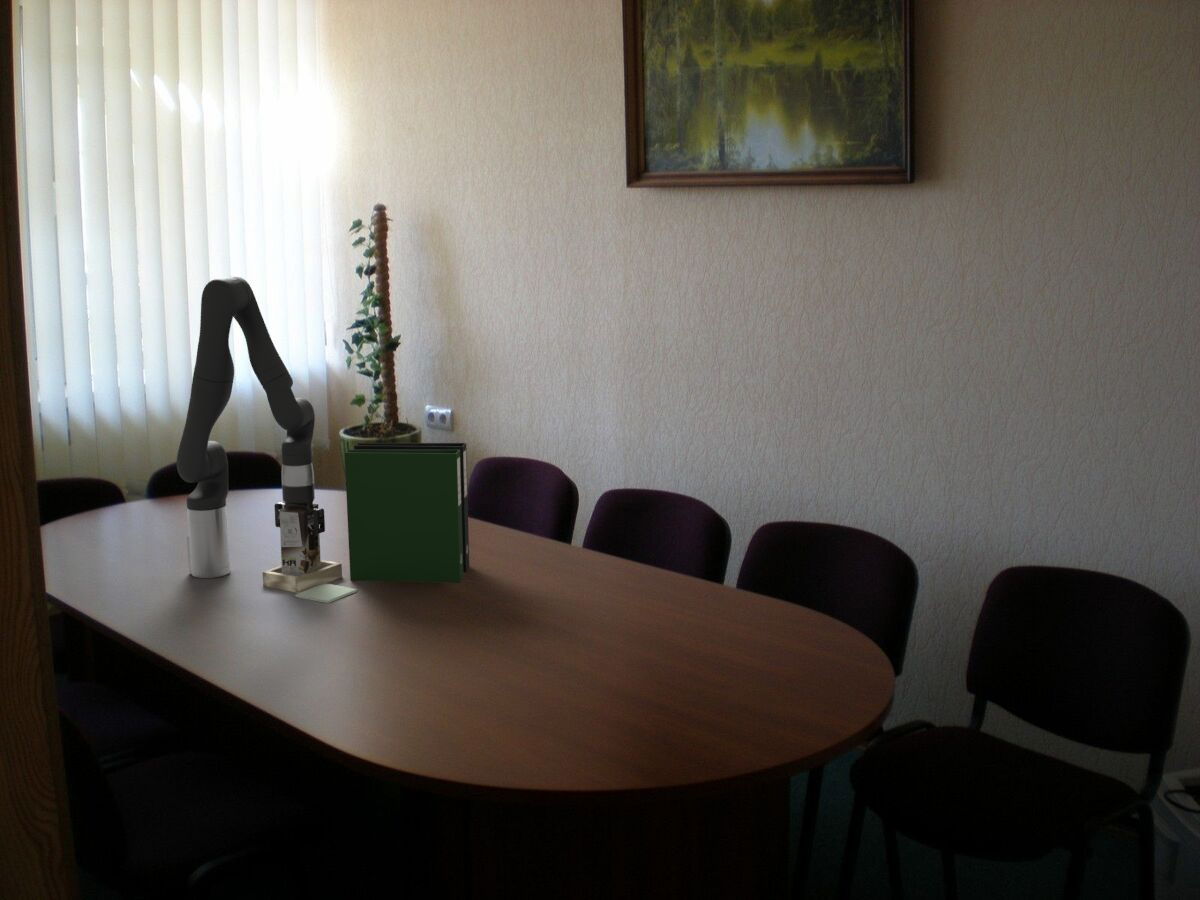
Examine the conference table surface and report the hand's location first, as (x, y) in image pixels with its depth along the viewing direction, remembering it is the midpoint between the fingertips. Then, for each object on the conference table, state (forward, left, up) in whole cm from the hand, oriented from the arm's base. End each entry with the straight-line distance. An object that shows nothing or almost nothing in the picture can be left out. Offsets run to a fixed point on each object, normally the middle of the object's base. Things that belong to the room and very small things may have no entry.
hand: (300, 547), depth 288 cm
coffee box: (0, 0, -6) cm, 6 cm away
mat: (+12, -5, -9) cm, 16 cm away
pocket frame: (0, 0, -9) cm, 9 cm away
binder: (+19, +18, -9) cm, 28 cm away
